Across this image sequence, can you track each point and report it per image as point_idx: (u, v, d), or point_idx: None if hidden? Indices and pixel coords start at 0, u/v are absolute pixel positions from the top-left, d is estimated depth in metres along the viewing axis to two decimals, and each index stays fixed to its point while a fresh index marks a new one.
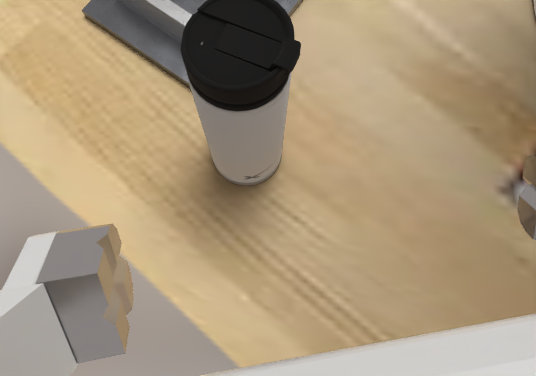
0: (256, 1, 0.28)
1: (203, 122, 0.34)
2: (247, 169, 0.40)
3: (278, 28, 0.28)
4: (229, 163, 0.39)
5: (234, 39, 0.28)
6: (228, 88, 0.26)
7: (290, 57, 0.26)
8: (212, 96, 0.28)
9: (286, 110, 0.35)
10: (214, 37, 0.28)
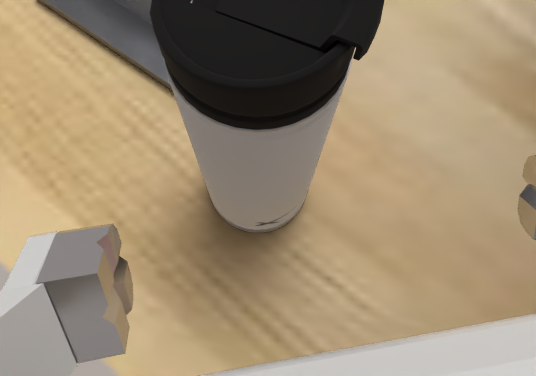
0: None
1: (195, 147, 0.21)
2: (262, 214, 0.27)
3: None
4: (235, 206, 0.26)
5: None
6: (244, 85, 0.13)
7: (366, 23, 0.13)
8: (211, 102, 0.15)
9: None
10: None
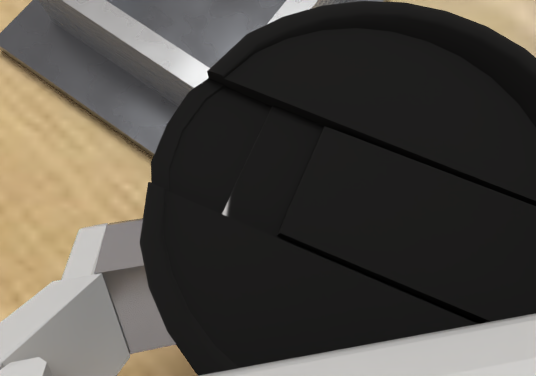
0: (428, 42, 0.08)
1: None
2: None
3: (528, 149, 0.07)
4: None
5: (358, 195, 0.07)
6: None
7: None
8: None
9: None
10: (275, 182, 0.07)
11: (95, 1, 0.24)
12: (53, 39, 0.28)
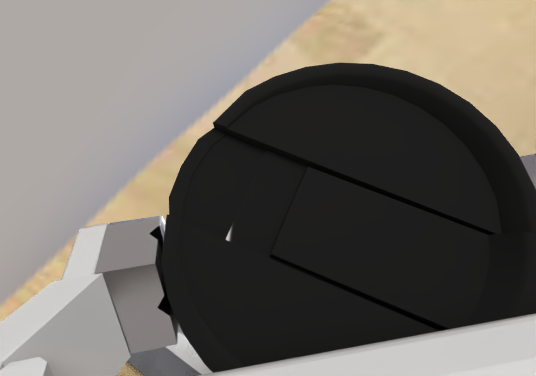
0: (393, 96, 0.09)
1: None
2: None
3: (473, 184, 0.09)
4: None
5: (334, 223, 0.09)
6: None
7: None
8: None
9: None
10: (268, 212, 0.09)
11: None
12: None
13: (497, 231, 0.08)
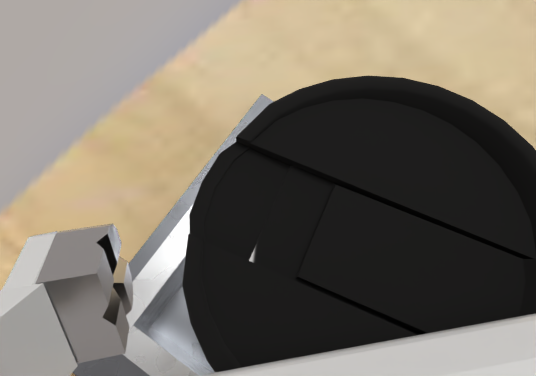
0: (423, 111, 0.09)
1: None
2: None
3: (507, 206, 0.08)
4: None
5: (363, 244, 0.08)
6: None
7: None
8: None
9: None
10: (293, 232, 0.09)
11: (178, 370, 0.22)
12: (120, 355, 0.26)
13: (532, 255, 0.08)
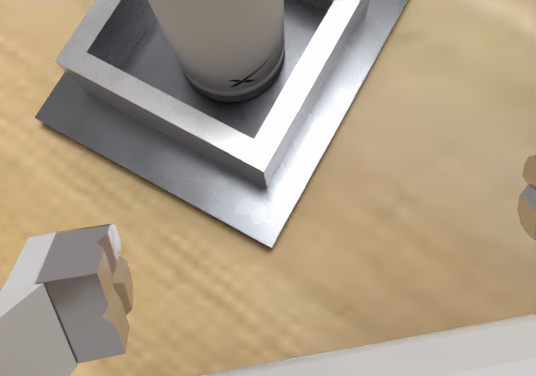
0: None
1: None
2: (230, 62, 0.25)
3: None
4: (199, 53, 0.24)
5: None
6: None
7: None
8: None
9: None
10: None
11: (127, 80, 0.26)
12: (89, 108, 0.30)
13: None
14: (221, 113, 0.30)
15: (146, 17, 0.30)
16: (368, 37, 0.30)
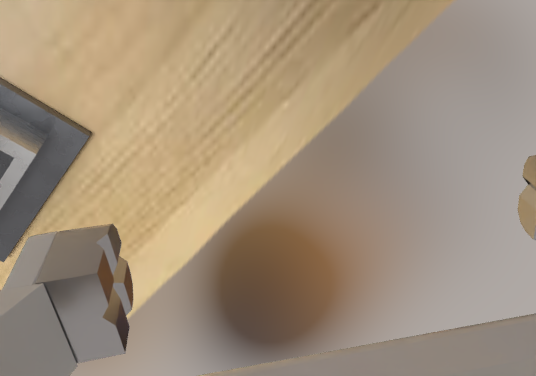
0: None
1: None
2: None
3: None
4: None
5: None
6: None
7: None
8: None
9: None
10: None
11: None
12: None
13: None
14: None
15: None
16: None
